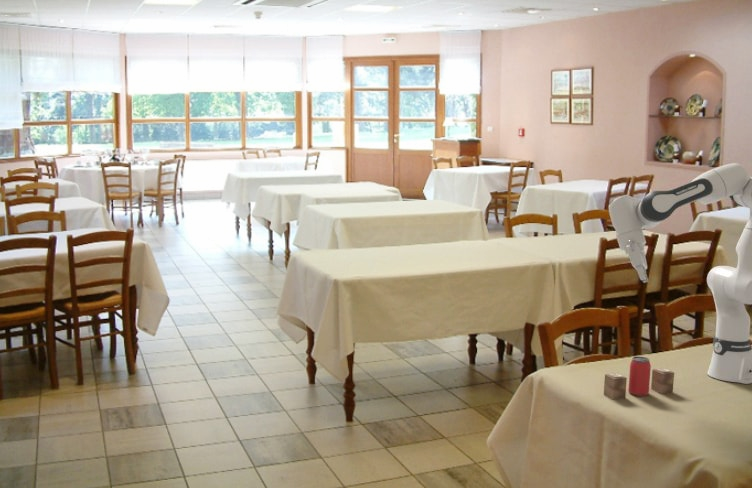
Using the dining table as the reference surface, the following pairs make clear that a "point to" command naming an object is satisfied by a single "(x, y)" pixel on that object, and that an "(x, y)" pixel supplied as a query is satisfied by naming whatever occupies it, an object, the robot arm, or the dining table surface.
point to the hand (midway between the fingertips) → (644, 280)
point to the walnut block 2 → (662, 380)
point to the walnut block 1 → (615, 386)
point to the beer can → (639, 376)
